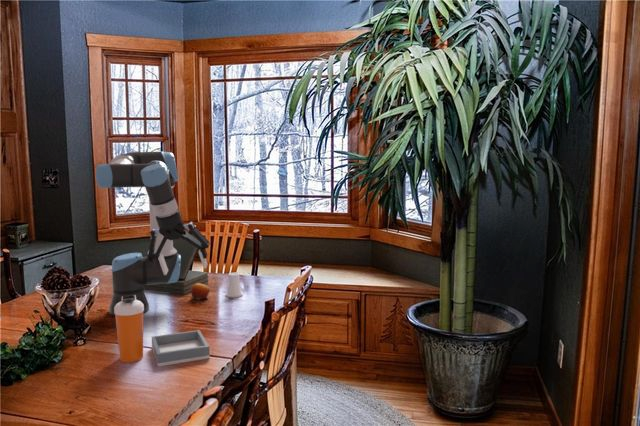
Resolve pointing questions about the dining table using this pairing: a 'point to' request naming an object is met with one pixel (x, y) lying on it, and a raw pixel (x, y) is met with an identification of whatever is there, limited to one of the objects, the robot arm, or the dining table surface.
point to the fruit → (200, 291)
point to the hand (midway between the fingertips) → (186, 269)
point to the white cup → (234, 286)
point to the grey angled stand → (182, 271)
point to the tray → (180, 348)
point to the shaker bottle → (129, 328)
